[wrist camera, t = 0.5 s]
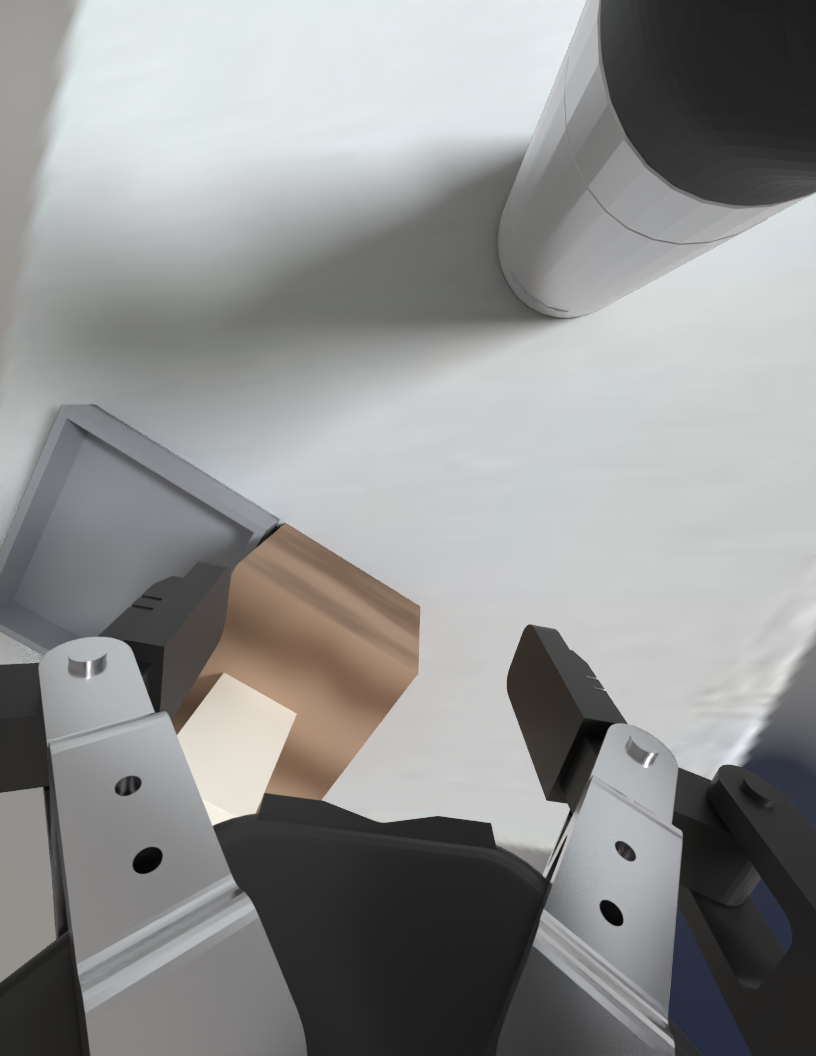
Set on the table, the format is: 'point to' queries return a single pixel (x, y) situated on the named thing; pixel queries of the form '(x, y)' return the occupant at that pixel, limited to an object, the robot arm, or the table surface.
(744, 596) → the table surface
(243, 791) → the cream block
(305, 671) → the walnut platform
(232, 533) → the box
